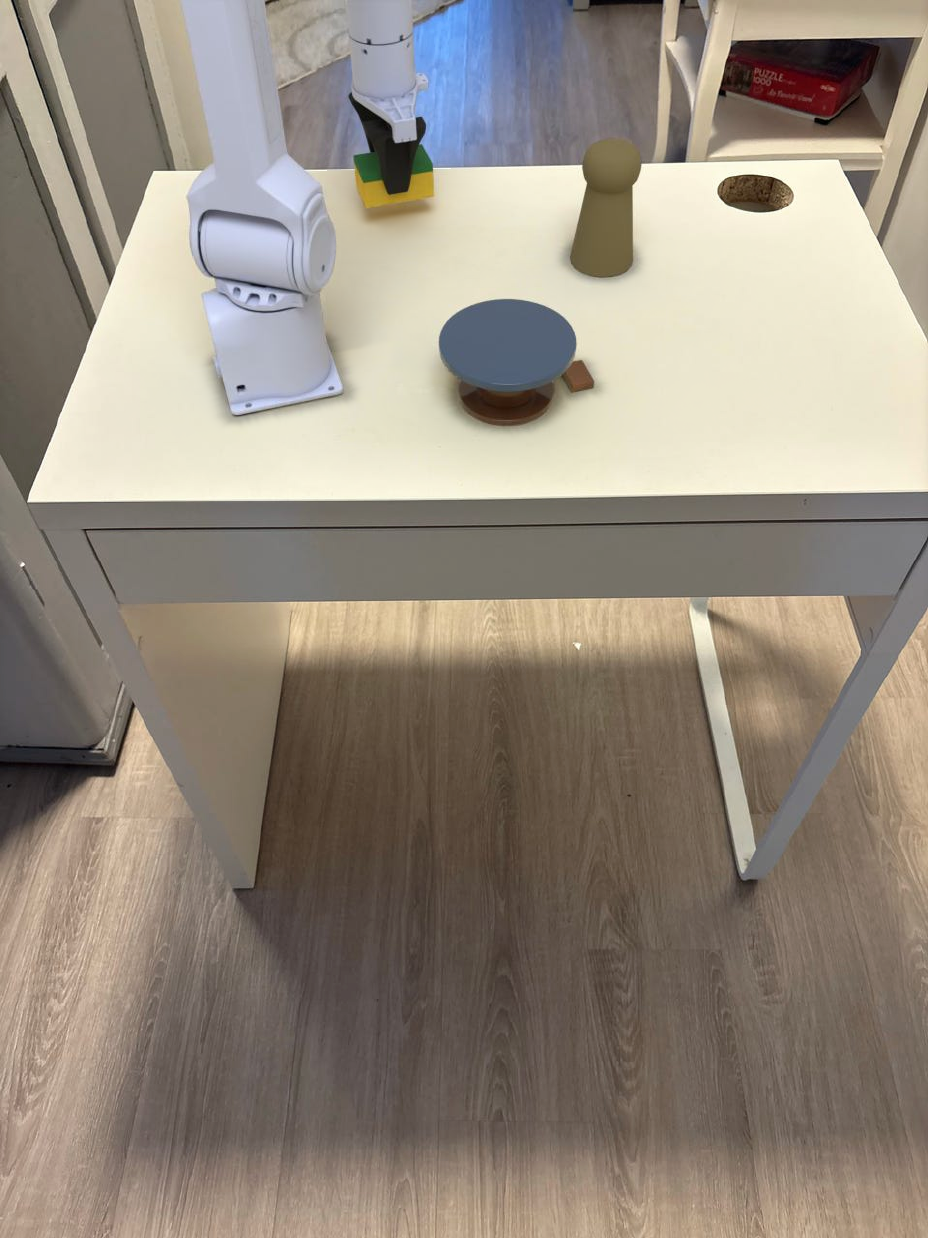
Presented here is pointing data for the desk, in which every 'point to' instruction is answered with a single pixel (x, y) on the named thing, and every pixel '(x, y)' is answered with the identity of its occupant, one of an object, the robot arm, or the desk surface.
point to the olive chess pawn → (607, 209)
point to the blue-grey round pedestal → (507, 358)
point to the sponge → (373, 185)
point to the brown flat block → (578, 377)
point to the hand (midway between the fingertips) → (391, 179)
